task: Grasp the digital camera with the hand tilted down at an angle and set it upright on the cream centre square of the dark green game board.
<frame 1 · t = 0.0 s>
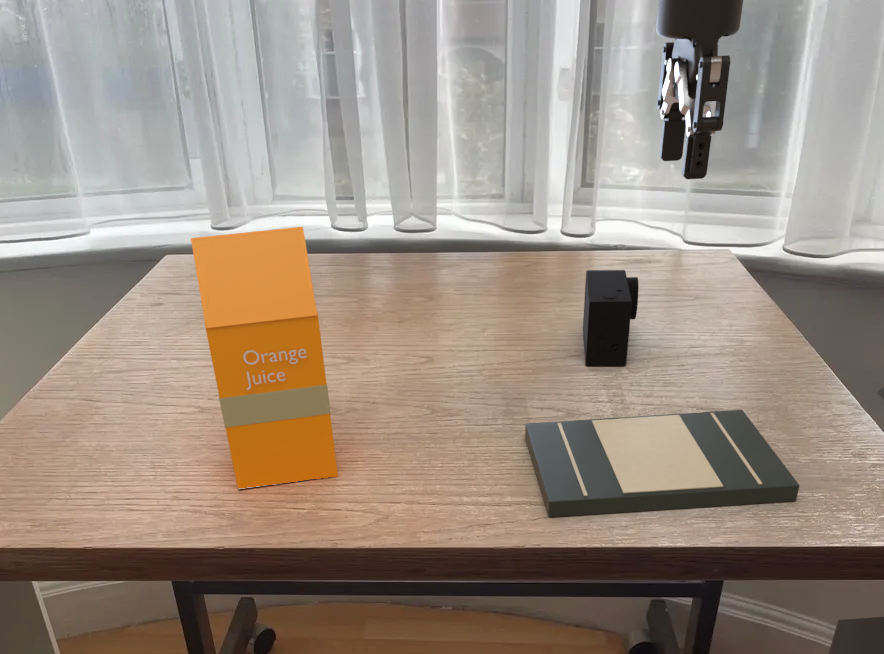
hand: (681, 168, 91), 17 cm above the table, tool pointing down, fingers open, 8 cm apart
digital camera: (608, 350, 99), on the table
board: (651, 467, 78), on the table
orange juice: (285, 465, 81), on the table
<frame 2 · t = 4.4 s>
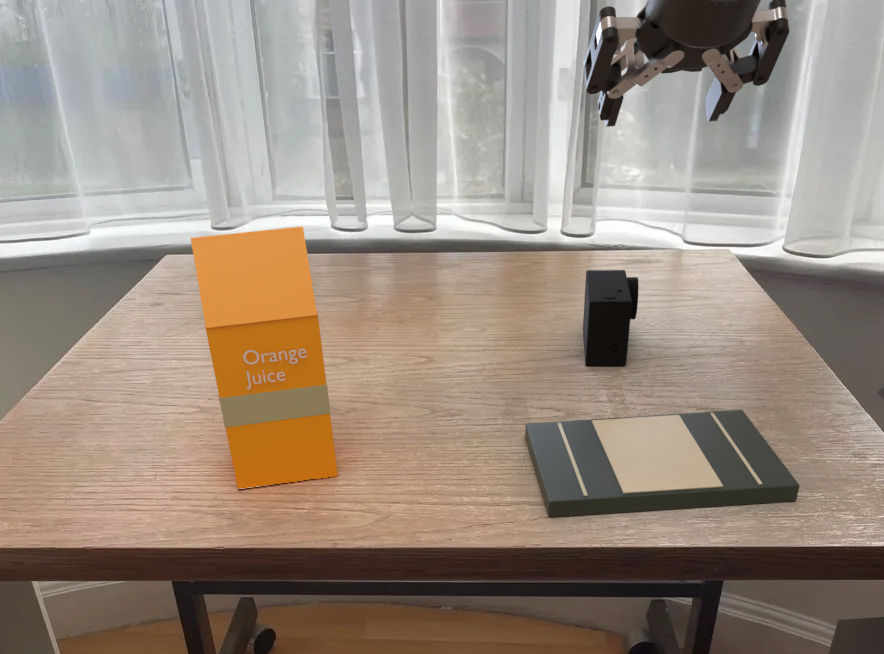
hand: (659, 114, 75), 25 cm above the table, tool tilted 45°, fingers open, 8 cm apart
nothing on the table moved.
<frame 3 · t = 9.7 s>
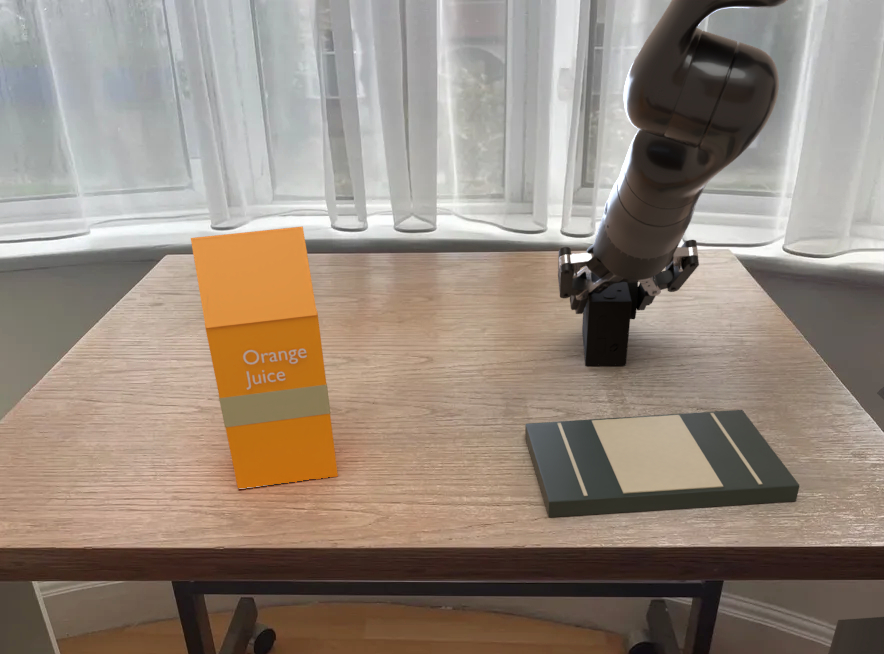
hand: (609, 303, 98), 4 cm above the table, tool tilted 45°, fingers closed on digital camera, 6 cm apart
digital camera: (608, 349, 99), on the table, touching gripper
everything else where it was.
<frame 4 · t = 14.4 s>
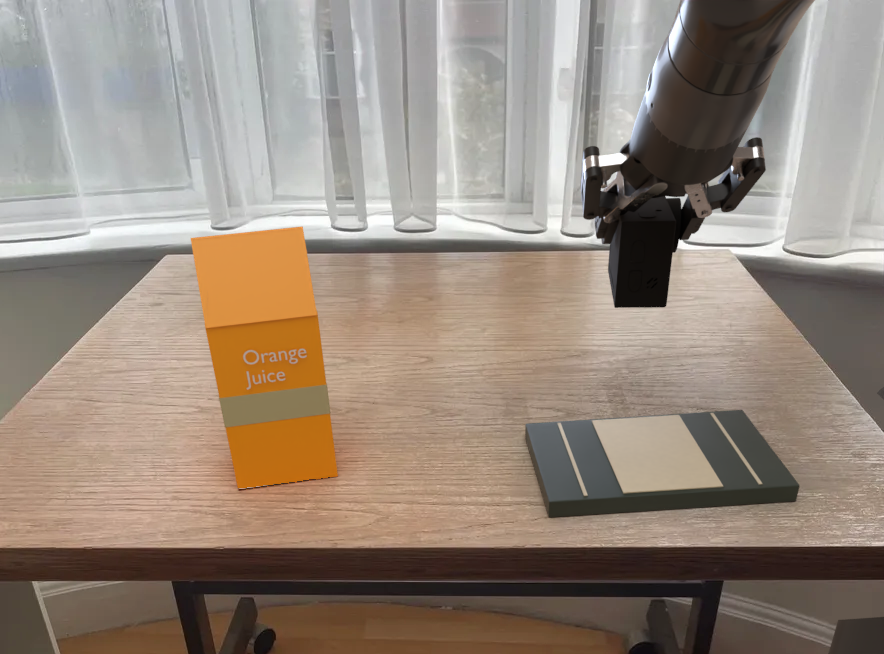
hand: (643, 232, 77), 16 cm above the table, tool tilted 45°, fingers closed on digital camera, 6 cm apart
digital camera: (642, 291, 79), point 12 cm above the table, touching gripper
everything else where it was.
when the fingers open (6 cm above the table, at t = 19.1 s): digital camera stays where it is, resting on board.
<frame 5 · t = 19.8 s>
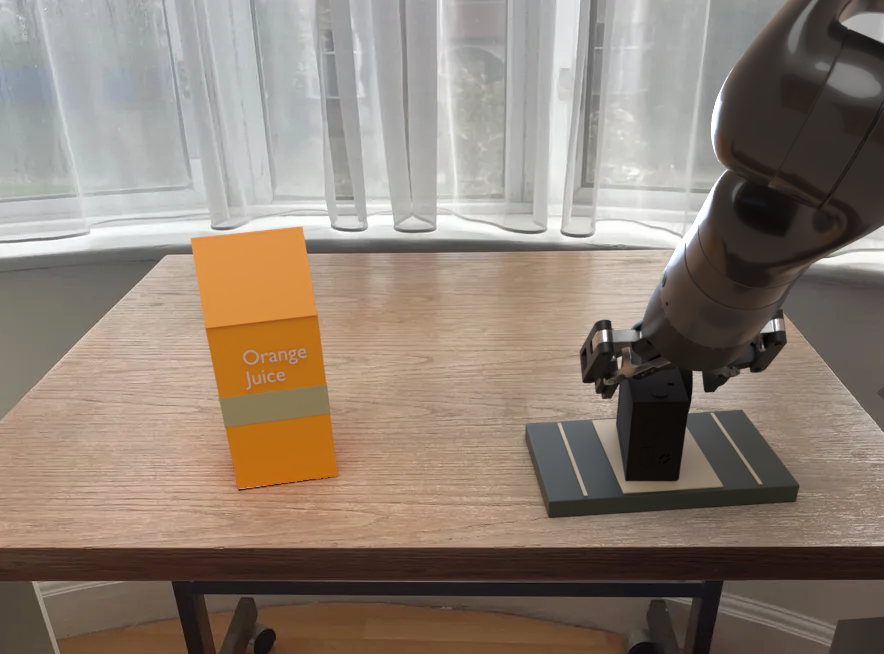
hand: (656, 384, 74), 7 cm above the table, tool tilted 45°, fingers open, 8 cm apart
digital camera: (652, 453, 77), point 1 cm above the table, touching board
everything else where it was.
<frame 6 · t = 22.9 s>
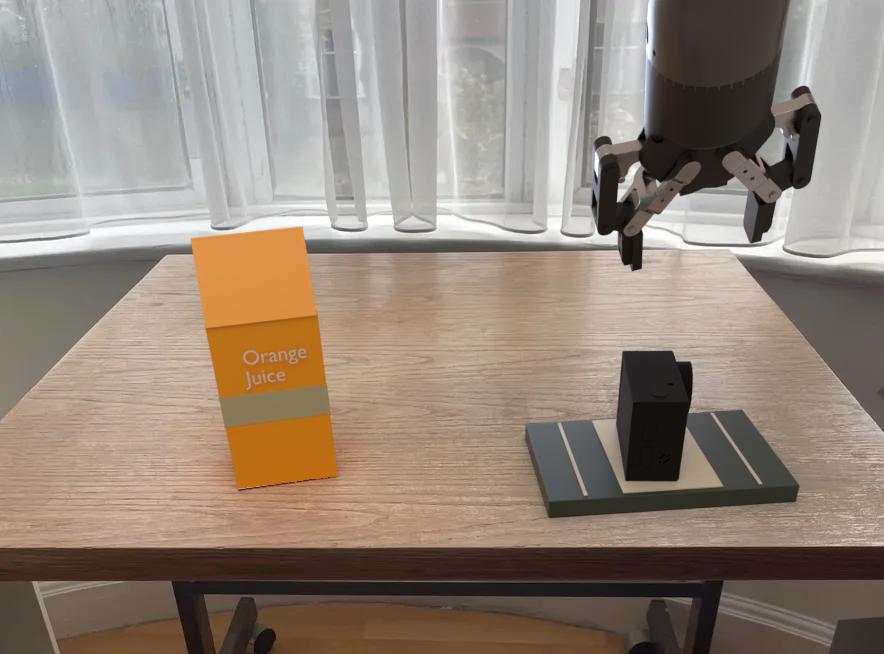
hand: (692, 248, 65), 19 cm above the table, tool tilted 30°, fingers open, 8 cm apart
nothing on the table moved.
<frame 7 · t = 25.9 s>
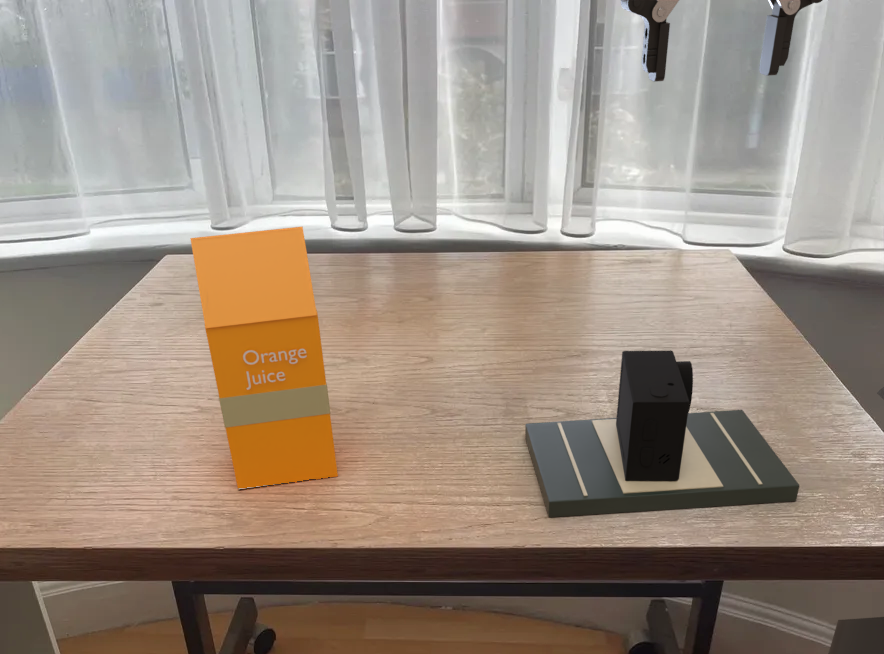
hand: (712, 77, 68), 28 cm above the table, tool pointing down, fingers open, 8 cm apart
nothing on the table moved.
at the end: digital camera 0.2 cm off-centre on the board, point 1.4 cm above the board's base; digital camera tilted 0°; the gripper is holding nothing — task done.
